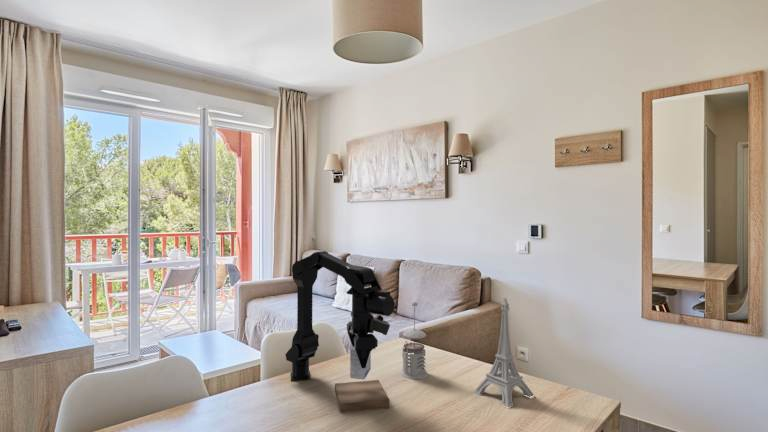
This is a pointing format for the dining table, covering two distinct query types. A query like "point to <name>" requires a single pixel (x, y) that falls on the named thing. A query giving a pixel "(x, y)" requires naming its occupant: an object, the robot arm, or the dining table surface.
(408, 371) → the french press
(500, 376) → the eiffel tower
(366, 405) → the walnut block
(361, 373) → the medicine box
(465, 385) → the dining table surface
